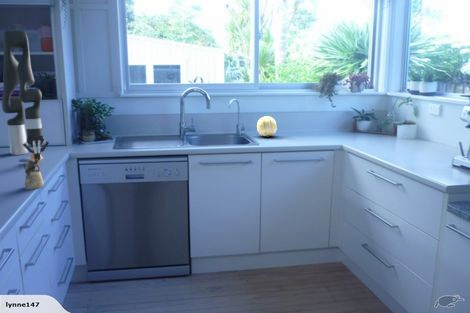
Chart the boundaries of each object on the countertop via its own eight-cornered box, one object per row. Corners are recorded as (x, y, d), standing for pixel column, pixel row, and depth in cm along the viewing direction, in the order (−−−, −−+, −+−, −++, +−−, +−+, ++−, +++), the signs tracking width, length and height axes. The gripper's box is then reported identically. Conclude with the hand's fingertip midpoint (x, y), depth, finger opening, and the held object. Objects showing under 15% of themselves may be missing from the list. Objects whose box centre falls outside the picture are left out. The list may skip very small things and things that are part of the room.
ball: (30, 161, 222) (28, 161, 226) (41, 163, 225) (39, 163, 230) (32, 151, 222) (30, 151, 227) (43, 153, 226) (41, 153, 230)
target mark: (15, 159, 233) (15, 159, 233) (36, 156, 243) (36, 155, 243) (27, 162, 227) (27, 162, 226) (48, 158, 236) (48, 158, 236)
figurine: (29, 184, 183) (26, 157, 180) (46, 184, 183) (43, 157, 181) (22, 189, 176) (19, 161, 173) (39, 189, 176) (36, 161, 174)
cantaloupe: (271, 138, 299) (271, 117, 296) (253, 137, 307) (253, 116, 304) (280, 135, 312) (280, 115, 309) (262, 134, 319) (262, 114, 316)
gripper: (21, 129, 213) (25, 162, 216) (49, 126, 221) (52, 159, 224) (18, 128, 219) (22, 160, 222) (45, 125, 227) (49, 157, 230)
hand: (37, 160), depth 223 cm, fingers closed
